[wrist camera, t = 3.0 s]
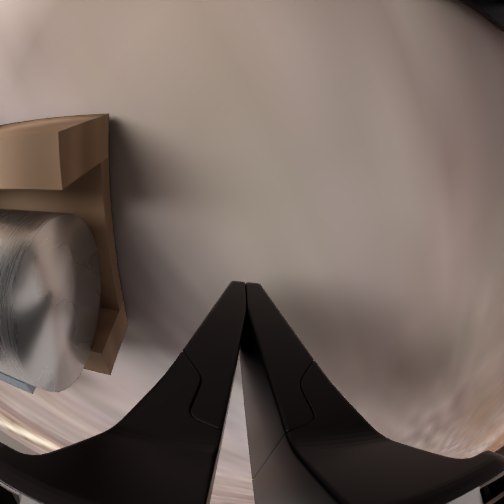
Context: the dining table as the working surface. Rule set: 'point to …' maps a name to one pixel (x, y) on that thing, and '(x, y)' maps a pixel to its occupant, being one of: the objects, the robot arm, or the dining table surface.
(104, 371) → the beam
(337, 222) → the dining table surface
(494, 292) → the dining table surface
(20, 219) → the silver metal tumbler
